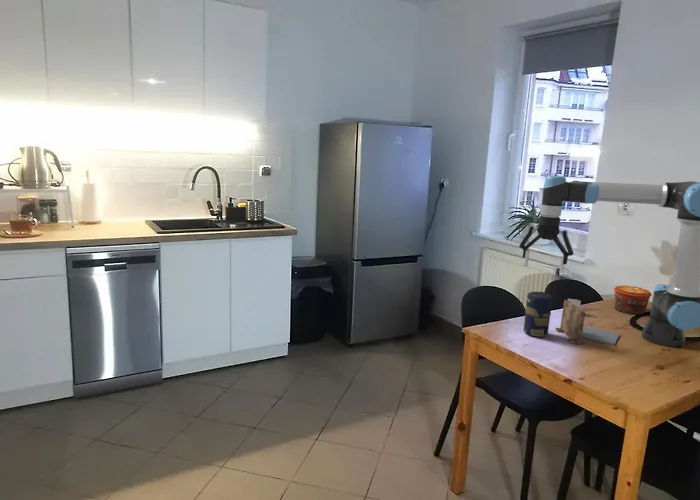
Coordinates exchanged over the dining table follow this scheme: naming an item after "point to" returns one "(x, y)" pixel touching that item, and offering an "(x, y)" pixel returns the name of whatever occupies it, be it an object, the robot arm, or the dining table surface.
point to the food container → (631, 299)
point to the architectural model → (576, 303)
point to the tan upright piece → (572, 322)
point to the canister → (537, 314)
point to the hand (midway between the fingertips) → (543, 269)
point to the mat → (599, 335)
